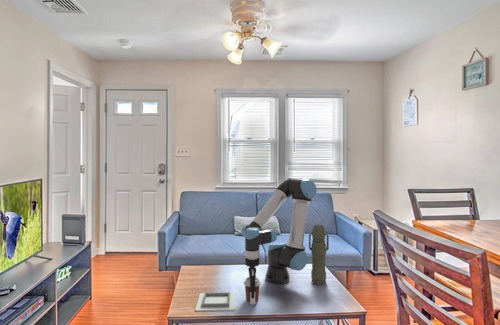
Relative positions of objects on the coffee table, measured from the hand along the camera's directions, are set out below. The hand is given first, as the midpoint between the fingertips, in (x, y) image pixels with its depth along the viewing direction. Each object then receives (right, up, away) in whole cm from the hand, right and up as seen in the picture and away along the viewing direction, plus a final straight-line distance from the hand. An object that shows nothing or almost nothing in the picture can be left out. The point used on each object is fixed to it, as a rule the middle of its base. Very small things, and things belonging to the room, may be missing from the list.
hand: (252, 298), depth 168 cm
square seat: (-19, -1, -1) cm, 19 cm away
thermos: (+41, -1, +26) cm, 49 cm away
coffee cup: (0, -2, 0) cm, 2 cm away
